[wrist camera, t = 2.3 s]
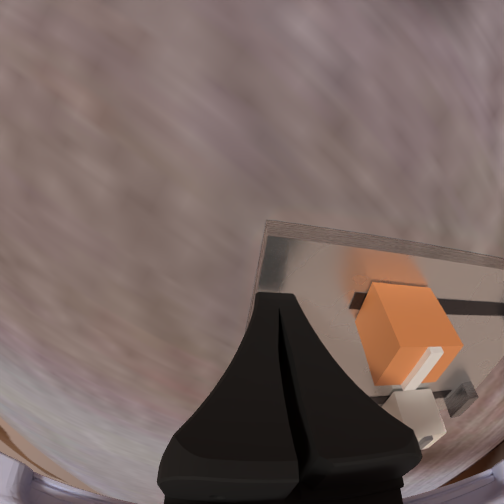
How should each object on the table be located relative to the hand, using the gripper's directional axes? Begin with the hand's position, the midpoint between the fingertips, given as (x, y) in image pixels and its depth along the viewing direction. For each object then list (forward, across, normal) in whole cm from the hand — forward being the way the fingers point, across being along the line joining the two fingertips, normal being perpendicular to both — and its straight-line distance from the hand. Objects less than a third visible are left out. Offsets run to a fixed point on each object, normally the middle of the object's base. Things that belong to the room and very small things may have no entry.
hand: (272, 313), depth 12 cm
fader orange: (+1, -5, 0) cm, 6 cm away
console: (+2, -8, +5) cm, 10 cm away
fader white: (+1, -10, +9) cm, 13 cm away
